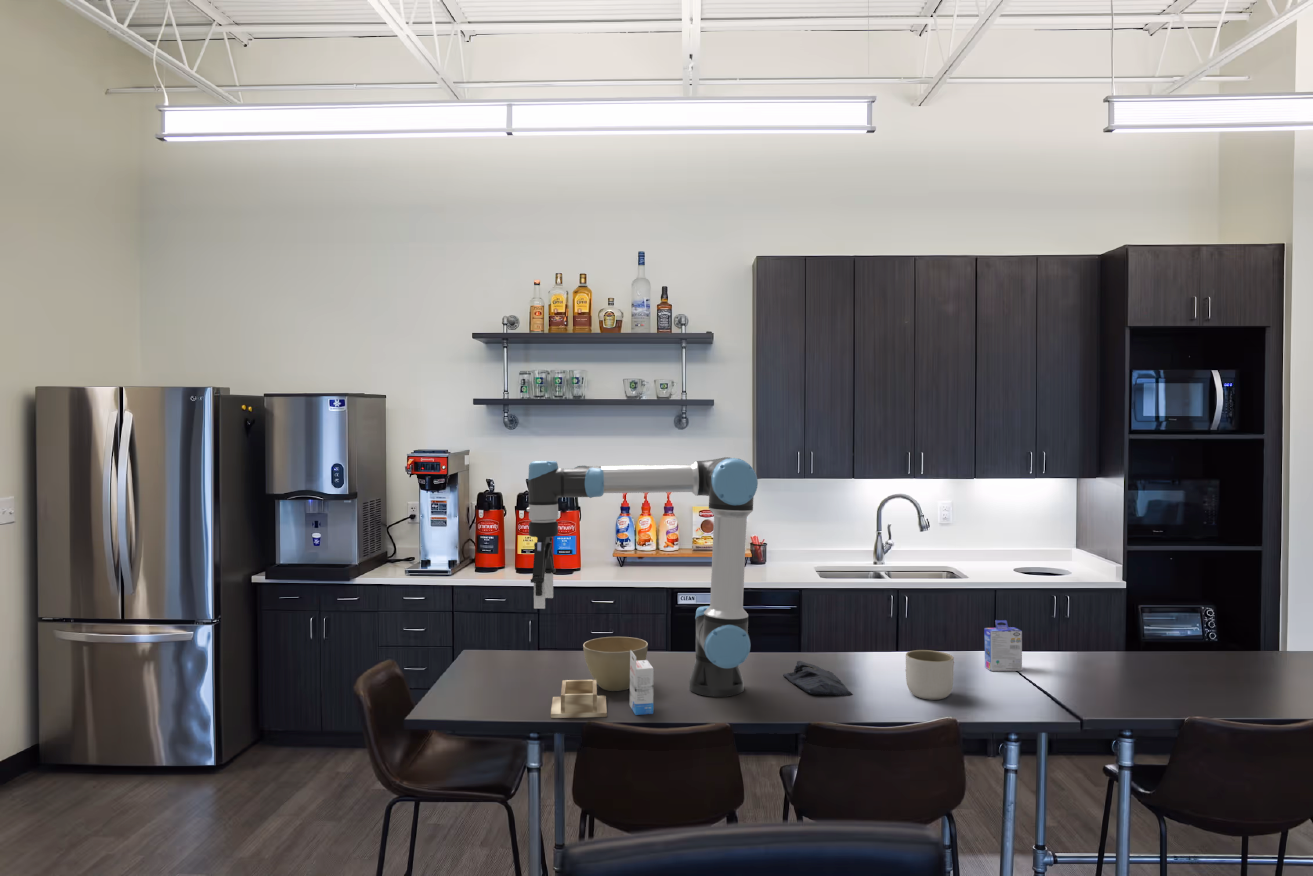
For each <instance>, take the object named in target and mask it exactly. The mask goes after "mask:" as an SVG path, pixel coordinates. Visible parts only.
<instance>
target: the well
mask: <svg viewBox="0 0 1313 876" xmlns="http://www.w3.org/2000/svg"><path fill="white" fill-rule="evenodd" d="M597 685H598V683H597V682H596V680H595V679H569V680H568V679H565V680H564V679H563V680H561V691H560V696H552V700H551V701H552V703H551V708H550V719H562V718H564V719H565V718H568V719H569V718H571V719H572V718H573V719H574V718H576V719H577V718H607V717H608V711H607V699H606V698H607V696H606V695H598V690H597V687H598V686H597Z"/></svg>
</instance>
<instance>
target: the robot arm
mask: <svg viewBox="0 0 1313 876" xmlns="http://www.w3.org/2000/svg"><path fill="white" fill-rule="evenodd" d="M527 477H528V478H527V485H528V486H527V488H528V489H527V492H528V507H527V508H526V512H528V520H530V521H529V523H528V536H529V537H531V538H537V539H536V542H535V541H534V543H533V546H534V552H533V564H532V565H533V567H532V577H531V579H530V583H532V584H533V609H535V610H536V609H543V610H545V609H546V599H553V598H554V574H556V571H557V568H555V564H554V563H555V562H554V549H553V548H554V547H553V537H557V536H558V535H559V522H558V521H557V520H558V519H559V501H558V499H559V498H590V499H591V498H598V497H599V498H600V497H603V495H604V494H639V493H641V494H645V493H647V494H649V493H651V494H652V493H653V494H654V493H692V494H693V495H694V496H708V510H709V511H710V512H711V513H712V514H713V530H712V531H713V532H712V533H713V534H712V536H713V537H712V538H713V539H712V552H711V553H712V555H711V557H712V559H711V576H710V577H711V579H710V599H709V600H710V602H709V605H705V606H699V607H697V609H696V611H695V617H694V619H695V662H694V665H693V668H692V671H691V673H690V678H689V681H688V683H689V686H688V689H689V690H690V691H691V692H692V693H695V694H696V695H700V696H704V697H717V698H718V697H719V698H720V697H721V698H722V697H723V698H725V697H732V696H737V695H740V694H741V693H742V692H744V690H745V683H744V679H743V675H742V672H741V668H740V665H741V664H743V663H744V662H745V661H746V659H747V658H748V657H749V654H750V653H751V639H750V635H749V633H748V632H749V631H748V630H749V628H748V627H749V613H747V611H746V610H745V609H744V590H745V589H744V587H745V569H746V568H745V564H746V545H747V544H746V543H747V542H746V540H747V519H748V516H749V515H750V514H752V512H753V511H754V499H755V498H754V496H755V495H756V493H757V490H758V484H759V482H758V476H757V474H756V472H755V469H754V468H753V467H752V466H751V465H750V464H749V463H748V462H747V461H745V460H743V459H740V458H736V457H726V456H725V457H720V458H714V459H707V460H695V461H693V462H692V463H691V464H656V465H655V464H649V465H647V464H644V465H642V464H641V465H640V464H639V465H601V466H598V465H594V466H593V465H592V466H591V465H589V466H587V465H577V466H574V468H560V467H559V465H558V462H557V461H555V460H533V461H531V462H530V463H529V464H528V475H527Z"/></svg>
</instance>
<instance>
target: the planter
mask: <svg viewBox="0 0 1313 876" xmlns="http://www.w3.org/2000/svg"><path fill="white" fill-rule="evenodd" d="M954 659H955V657H954V656H953V655H951V654H949V653H946V652H943V651H939V650H929V649H916V650H910V651H907V652H906V653H905V681H906V686H907V688H908V690H909V692H910V693H911V694H912V695H913V696H915V697H917V698H918V699H919V698H920V699H924V700H931V701H933V700H934V701H936V700H937V701H938V700H939V701H940V700H944V699H946V698H947V697H949V696H950V694H951V693H952V690H953V685H954V674H955V673H954V672H955V671H954V669H955V667H954V665H955V660H954Z"/></svg>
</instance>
